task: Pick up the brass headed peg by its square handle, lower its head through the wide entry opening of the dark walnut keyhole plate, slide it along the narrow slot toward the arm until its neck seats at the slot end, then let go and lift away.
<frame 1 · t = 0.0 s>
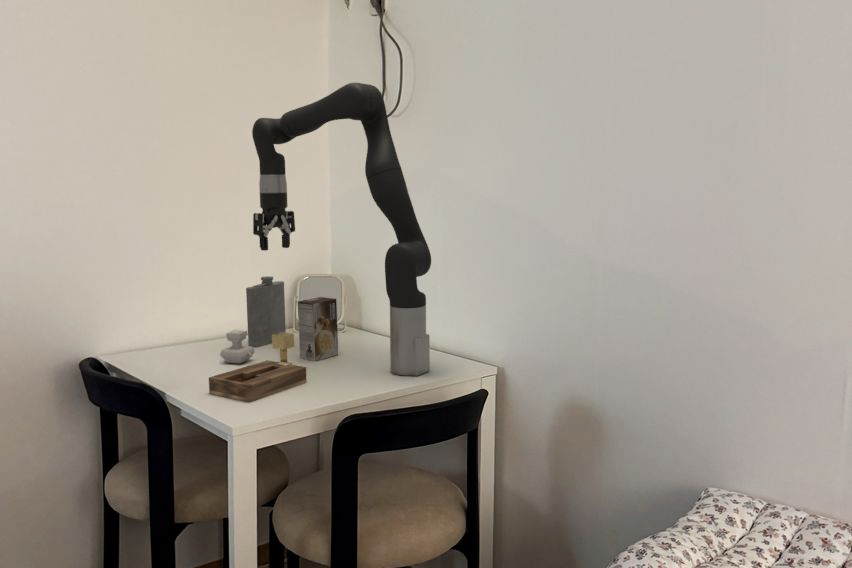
hand: (275, 248, 216), 29 cm above the table, fingers open, 8 cm apart
keyhole plate: (259, 387, 182), on the table
hip flask: (268, 342, 231), on the table
stamp: (237, 362, 207), on the table
brass keyhole peg: (284, 367, 200), on the table
coffee box: (319, 357, 212), on the table
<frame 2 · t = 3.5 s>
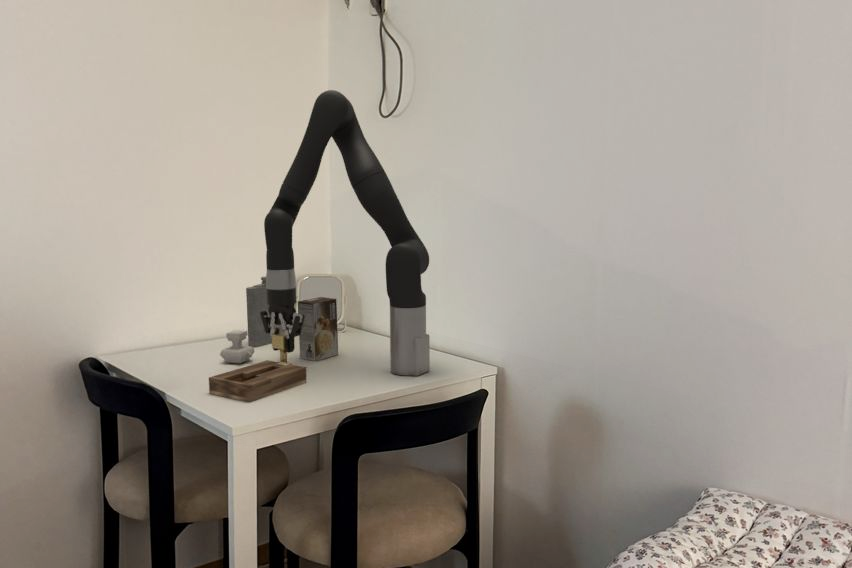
hand: (283, 350, 200), 5 cm above the table, fingers closed on brass keyhole peg, 4 cm apart
brass keyhole peg: (283, 367, 200), on the table, touching gripper
everything else where it was.
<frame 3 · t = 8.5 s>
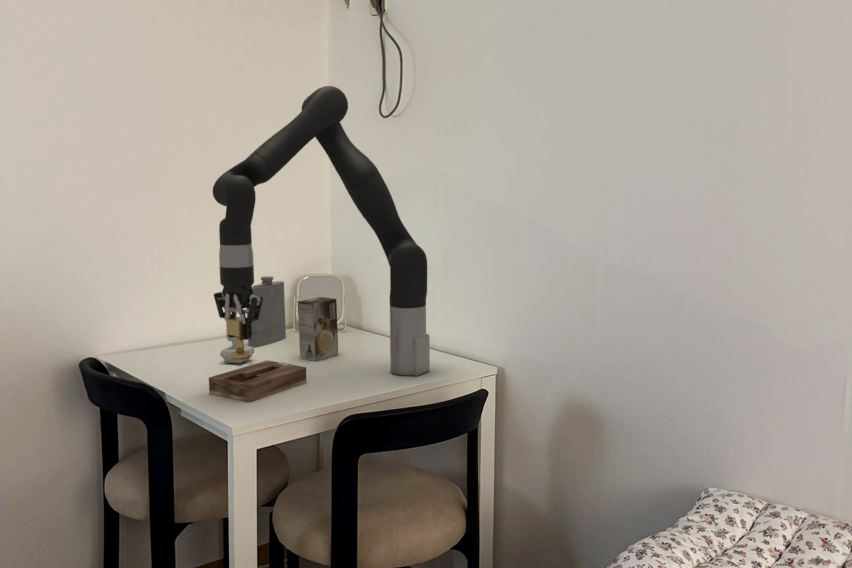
hand: (239, 337, 176), 13 cm above the table, fingers closed on brass keyhole peg, 4 cm apart
brass keyhole peg: (240, 357, 176), point 9 cm above the table, touching gripper
everything else where it was.
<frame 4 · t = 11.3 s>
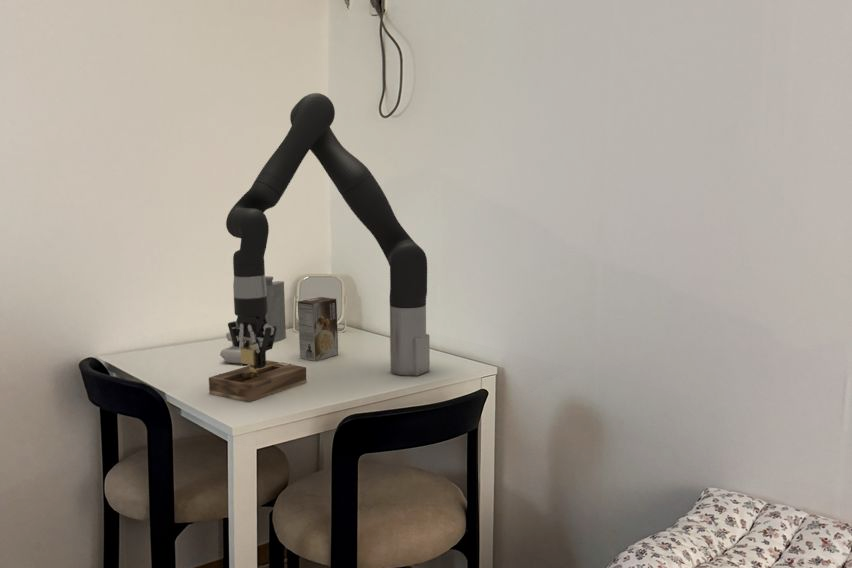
hand: (253, 366, 180), 6 cm above the table, fingers closed on brass keyhole peg, 4 cm apart
brass keyhole peg: (254, 385, 180), point 1 cm above the table, touching gripper
everything else where it was.
when the fingers open (6 cm above the table, at t = 13.8 s): brass keyhole peg stays where it is, resting on keyhole plate.
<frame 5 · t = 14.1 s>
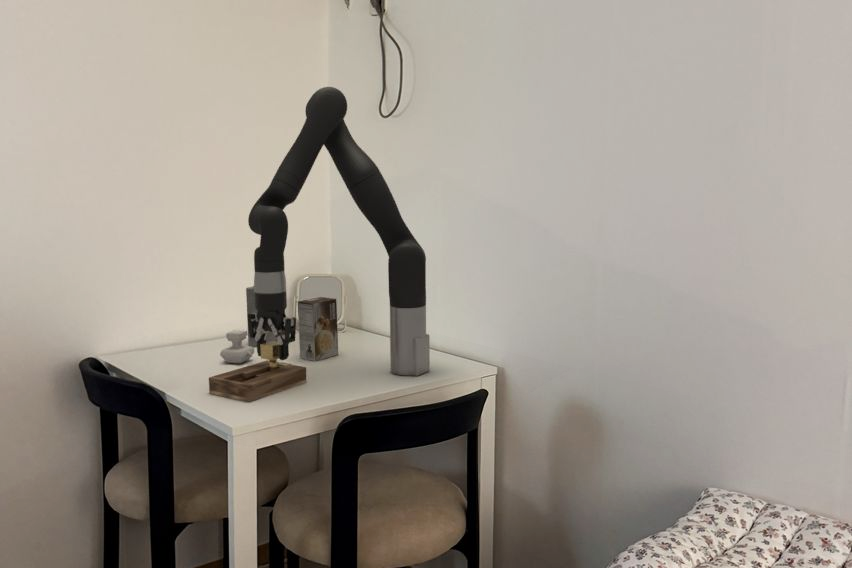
hand: (272, 357, 185), 6 cm above the table, fingers open, 6 cm apart
brass keyhole peg: (273, 379, 186), point 1 cm above the table, touching keyhole plate
everything else where it was.
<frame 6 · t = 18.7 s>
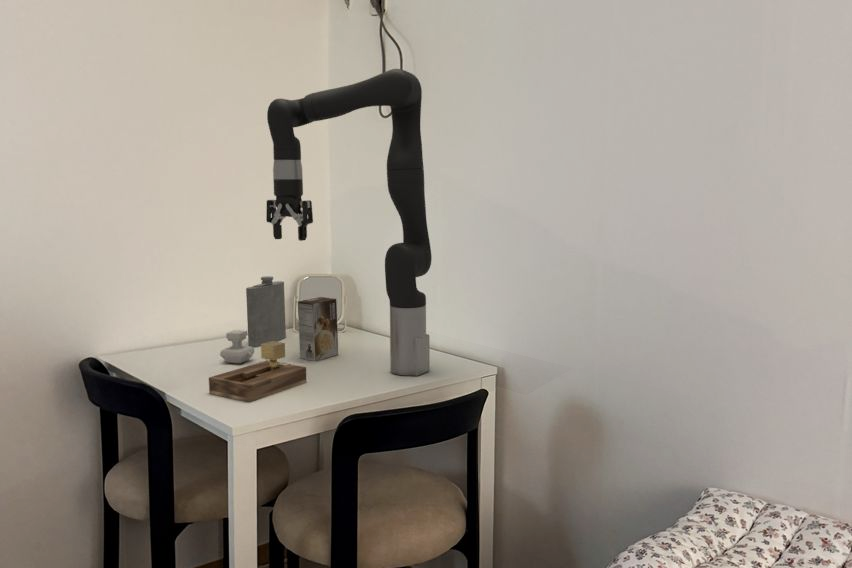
hand: (290, 239, 202), 33 cm above the table, fingers open, 8 cm apart
nothing on the table moved.
at the end: brass keyhole peg 0.2 cm from the target spot on the keyhole plate, point 0.8 cm above the keyhole plate's base; brass keyhole peg tilted 1°; the gripper is holding nothing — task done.
